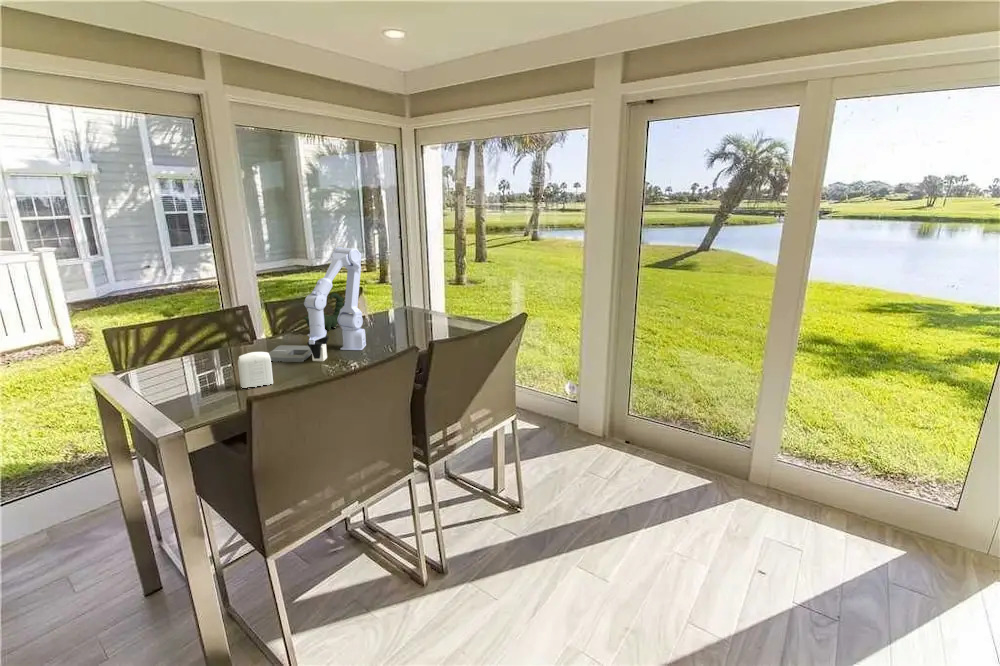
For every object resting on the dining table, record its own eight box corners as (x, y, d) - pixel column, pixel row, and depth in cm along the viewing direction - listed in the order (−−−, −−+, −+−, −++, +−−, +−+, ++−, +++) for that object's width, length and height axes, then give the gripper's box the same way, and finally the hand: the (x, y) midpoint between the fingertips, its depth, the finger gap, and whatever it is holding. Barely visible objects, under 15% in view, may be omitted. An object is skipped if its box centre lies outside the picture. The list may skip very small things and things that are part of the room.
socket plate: (317, 349, 202) (316, 345, 202) (302, 362, 187) (302, 357, 186) (280, 349, 202) (279, 344, 201) (262, 361, 186) (262, 356, 186)
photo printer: (272, 381, 167) (268, 348, 164) (274, 385, 164) (270, 351, 160) (240, 386, 162) (235, 353, 158) (241, 390, 158) (237, 356, 155)
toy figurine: (335, 326, 245) (297, 334, 222) (335, 291, 241) (296, 294, 219) (349, 329, 241) (311, 336, 219) (349, 293, 237) (310, 297, 215)
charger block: (327, 357, 193) (325, 342, 191) (323, 361, 189) (322, 345, 187) (316, 357, 193) (315, 342, 191) (312, 361, 189) (311, 345, 187)
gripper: (313, 319, 194) (316, 350, 197) (299, 328, 180) (302, 361, 183) (330, 319, 194) (332, 350, 197) (318, 329, 180) (320, 361, 184)
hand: (319, 355), depth 190 cm, fingers open, 5 cm apart
